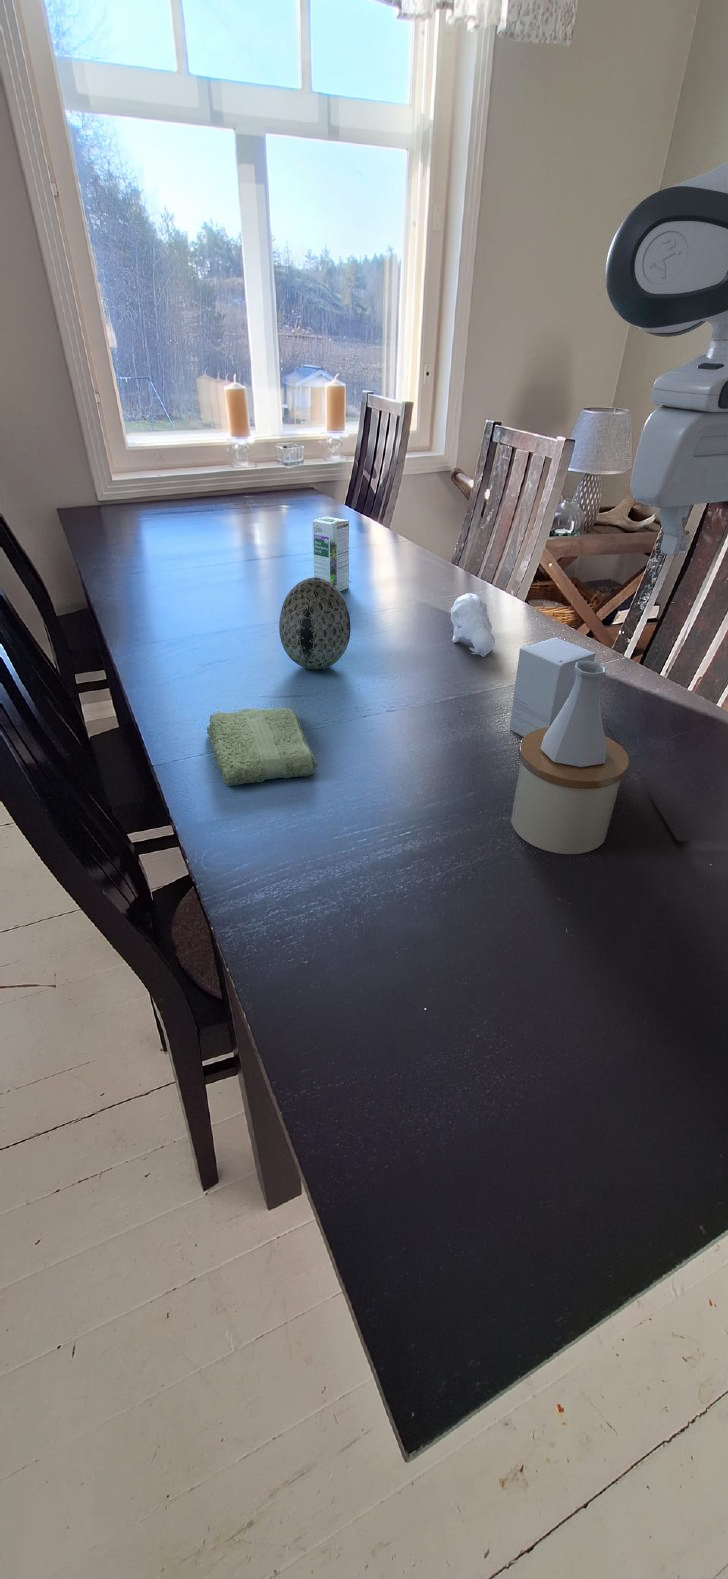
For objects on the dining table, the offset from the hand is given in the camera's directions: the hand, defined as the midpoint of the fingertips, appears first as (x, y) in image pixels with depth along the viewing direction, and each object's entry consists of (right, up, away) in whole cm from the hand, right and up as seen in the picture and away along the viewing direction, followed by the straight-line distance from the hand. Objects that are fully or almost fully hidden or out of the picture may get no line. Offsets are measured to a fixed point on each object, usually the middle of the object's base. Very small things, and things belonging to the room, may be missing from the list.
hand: (709, 548), depth 66 cm
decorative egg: (-41, -2, +51) cm, 66 cm away
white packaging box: (-7, -15, +33) cm, 37 cm away
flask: (-10, -19, +9) cm, 24 cm away
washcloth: (-47, -18, +28) cm, 58 cm away
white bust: (-13, +2, +59) cm, 60 cm away
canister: (-10, -27, +15) cm, 33 cm away
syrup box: (-40, +21, +85) cm, 96 cm away
